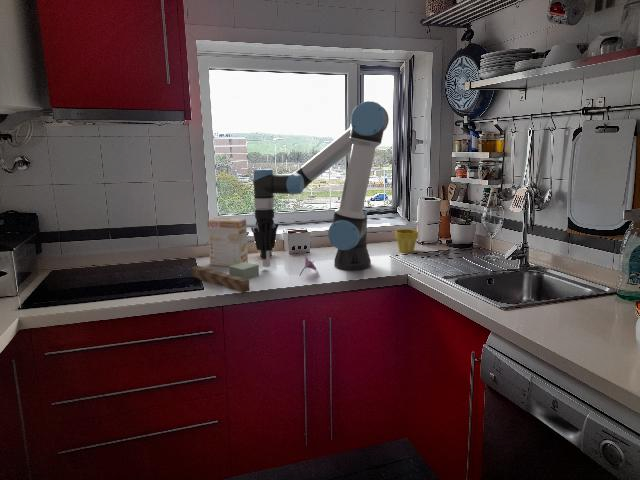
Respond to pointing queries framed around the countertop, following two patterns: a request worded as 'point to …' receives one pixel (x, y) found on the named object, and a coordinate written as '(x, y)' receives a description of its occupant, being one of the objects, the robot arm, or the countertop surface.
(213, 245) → the coffeecake box
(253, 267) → the sage block
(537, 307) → the countertop surface
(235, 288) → the walnut plank
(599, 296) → the countertop surface
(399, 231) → the plant pot
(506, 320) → the countertop surface
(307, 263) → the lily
